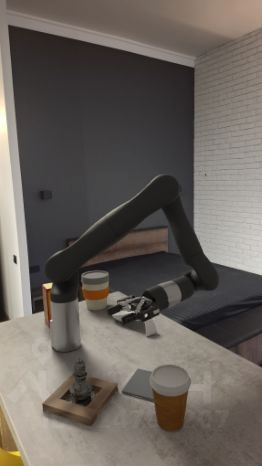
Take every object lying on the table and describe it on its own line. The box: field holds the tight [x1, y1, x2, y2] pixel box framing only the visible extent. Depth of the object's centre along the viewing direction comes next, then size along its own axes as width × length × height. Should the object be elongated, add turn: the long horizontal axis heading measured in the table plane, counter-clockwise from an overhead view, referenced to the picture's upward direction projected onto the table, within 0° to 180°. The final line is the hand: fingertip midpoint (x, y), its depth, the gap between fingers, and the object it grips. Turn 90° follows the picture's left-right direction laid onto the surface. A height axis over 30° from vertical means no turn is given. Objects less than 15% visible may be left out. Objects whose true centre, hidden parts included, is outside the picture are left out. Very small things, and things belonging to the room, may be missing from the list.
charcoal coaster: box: [121, 368, 154, 402], centre depth 89 cm, size 11×11×1 cm
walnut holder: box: [42, 372, 119, 427], centre depth 84 cm, size 14×14×2 cm
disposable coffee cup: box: [149, 364, 192, 433], centre depth 75 cm, size 10×10×12 cm
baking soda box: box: [41, 282, 52, 328], centre depth 130 cm, size 10×6×16 cm
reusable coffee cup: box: [80, 270, 110, 311], centre depth 144 cm, size 13×13×15 cm
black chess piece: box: [70, 357, 93, 407], centre depth 83 cm, size 6×6×12 cm
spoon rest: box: [111, 305, 158, 337], centre depth 126 cm, size 24×12×7 cm, turn 35°
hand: (114, 316), depth 87 cm, fingers open, 8 cm apart
